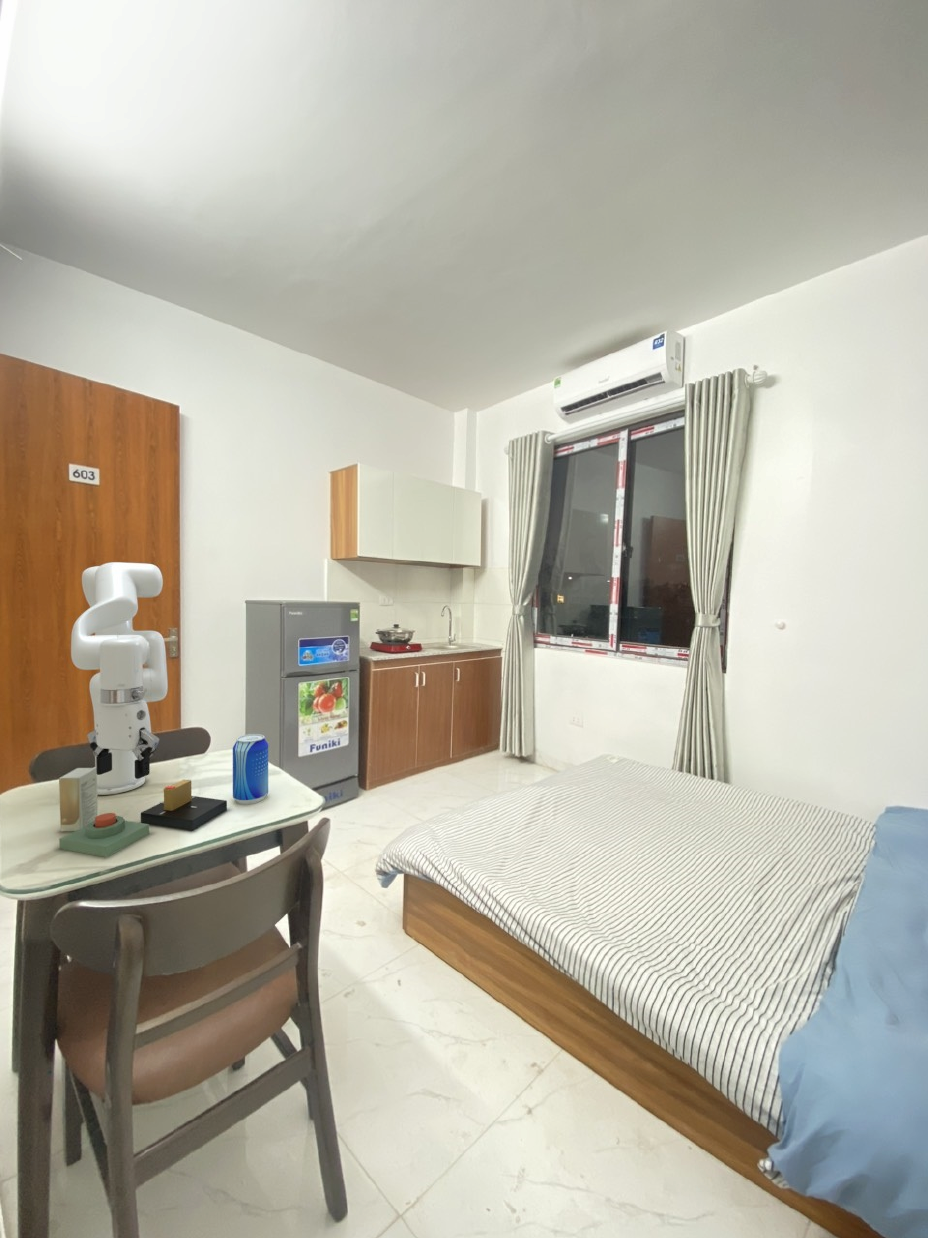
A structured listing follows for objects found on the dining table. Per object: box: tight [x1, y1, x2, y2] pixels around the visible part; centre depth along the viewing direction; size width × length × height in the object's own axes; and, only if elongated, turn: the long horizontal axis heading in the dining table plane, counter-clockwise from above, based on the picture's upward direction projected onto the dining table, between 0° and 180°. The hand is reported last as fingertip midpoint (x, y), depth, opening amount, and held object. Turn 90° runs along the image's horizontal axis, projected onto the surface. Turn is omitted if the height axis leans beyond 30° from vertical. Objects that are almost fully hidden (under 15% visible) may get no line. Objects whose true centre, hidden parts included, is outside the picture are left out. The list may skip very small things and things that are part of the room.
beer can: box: [232, 733, 269, 805], centre depth 127 cm, size 8×8×16 cm
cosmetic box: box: [58, 767, 99, 832], centre depth 111 cm, size 6×4×12 cm
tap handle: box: [163, 779, 193, 811], centre depth 117 cm, size 6×2×5 cm, turn 167°
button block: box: [58, 815, 150, 858], centre depth 104 cm, size 12×10×4 cm
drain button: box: [95, 812, 117, 828], centre depth 104 cm, size 4×4×2 cm
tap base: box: [140, 795, 228, 832], centre depth 117 cm, size 14×11×3 cm
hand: (123, 774), depth 106 cm, fingers open, 9 cm apart
